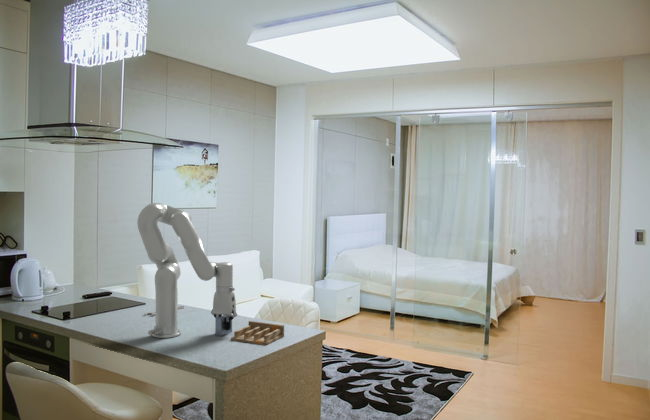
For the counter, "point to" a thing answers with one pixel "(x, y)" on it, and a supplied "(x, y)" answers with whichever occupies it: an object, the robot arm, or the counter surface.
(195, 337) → the counter surface
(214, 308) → the robot arm
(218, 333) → the block
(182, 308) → the adjustable wrench
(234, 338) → the rack
